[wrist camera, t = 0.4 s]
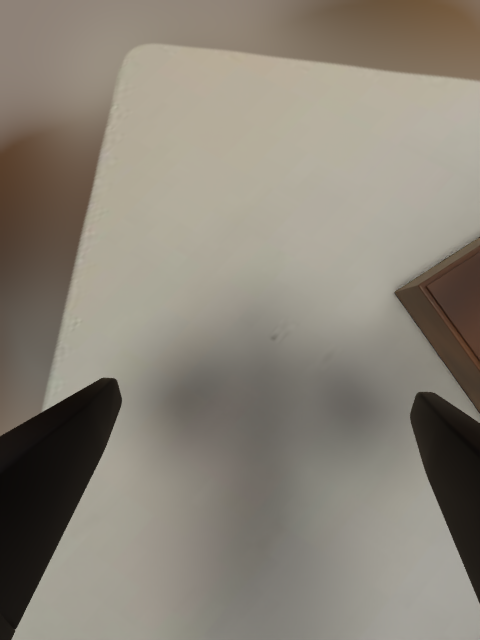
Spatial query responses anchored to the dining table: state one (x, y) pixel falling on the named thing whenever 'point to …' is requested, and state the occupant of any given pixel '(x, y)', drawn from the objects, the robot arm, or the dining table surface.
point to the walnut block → (451, 313)
